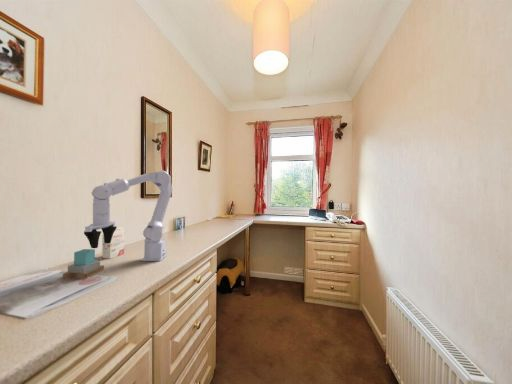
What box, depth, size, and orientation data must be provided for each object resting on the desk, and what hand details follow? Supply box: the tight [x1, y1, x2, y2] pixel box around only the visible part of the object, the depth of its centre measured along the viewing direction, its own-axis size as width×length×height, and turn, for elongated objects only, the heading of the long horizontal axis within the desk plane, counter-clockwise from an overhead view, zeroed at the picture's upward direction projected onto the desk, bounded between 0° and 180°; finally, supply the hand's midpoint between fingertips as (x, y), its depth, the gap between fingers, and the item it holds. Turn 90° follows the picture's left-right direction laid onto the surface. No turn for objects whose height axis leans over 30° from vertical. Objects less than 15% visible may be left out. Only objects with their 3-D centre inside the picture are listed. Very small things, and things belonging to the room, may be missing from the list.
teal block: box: [73, 248, 96, 265], centre depth 82 cm, size 4×4×5 cm
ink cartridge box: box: [101, 226, 125, 260], centre depth 104 cm, size 9×5×15 cm, turn 168°
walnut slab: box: [62, 264, 105, 279], centre depth 81 cm, size 9×9×2 cm
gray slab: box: [67, 260, 101, 274], centre depth 81 cm, size 7×7×2 cm
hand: (101, 245), depth 86 cm, fingers open, 7 cm apart
